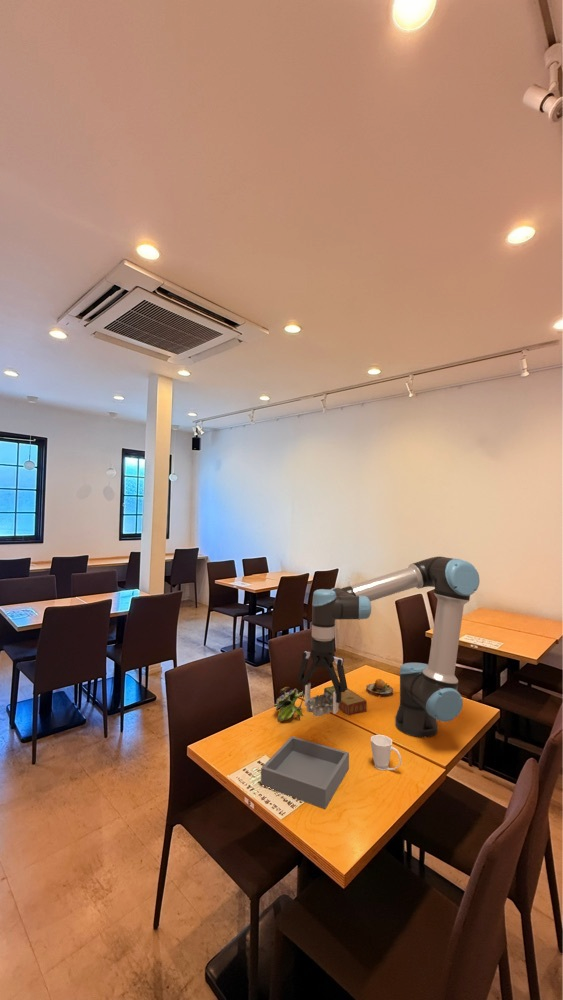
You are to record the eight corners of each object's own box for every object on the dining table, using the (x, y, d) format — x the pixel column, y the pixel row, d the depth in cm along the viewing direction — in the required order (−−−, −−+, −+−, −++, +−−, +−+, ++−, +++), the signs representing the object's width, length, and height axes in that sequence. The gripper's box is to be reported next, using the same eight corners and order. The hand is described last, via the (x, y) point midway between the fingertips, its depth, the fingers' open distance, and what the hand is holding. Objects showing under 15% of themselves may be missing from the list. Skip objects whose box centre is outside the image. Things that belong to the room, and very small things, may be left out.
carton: (347, 717, 161) (347, 704, 162) (323, 698, 178) (323, 686, 178) (367, 712, 166) (367, 699, 166) (341, 694, 182) (341, 683, 182)
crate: (349, 769, 127) (349, 752, 127) (325, 809, 109) (325, 789, 110) (291, 751, 136) (291, 736, 137) (260, 785, 119) (261, 768, 119)
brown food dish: (395, 689, 188) (395, 673, 188) (391, 700, 177) (391, 682, 177) (369, 685, 193) (369, 668, 193) (363, 694, 182) (363, 677, 182)
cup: (376, 757, 134) (376, 731, 134) (405, 769, 127) (405, 743, 128) (365, 766, 128) (366, 740, 129) (395, 780, 122) (395, 752, 122)
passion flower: (283, 727, 164) (291, 692, 172) (308, 731, 157) (315, 694, 165) (265, 718, 157) (273, 681, 165) (290, 721, 150) (298, 683, 158)
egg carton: (316, 718, 127) (316, 705, 127) (302, 709, 133) (302, 696, 133) (341, 710, 133) (341, 698, 133) (327, 701, 139) (327, 690, 139)
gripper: (359, 640, 132) (357, 712, 131) (298, 630, 142) (296, 696, 141) (351, 646, 125) (349, 722, 124) (288, 635, 136) (286, 704, 135)
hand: (321, 708), depth 133 cm, fingers closed on egg carton, 9 cm apart
